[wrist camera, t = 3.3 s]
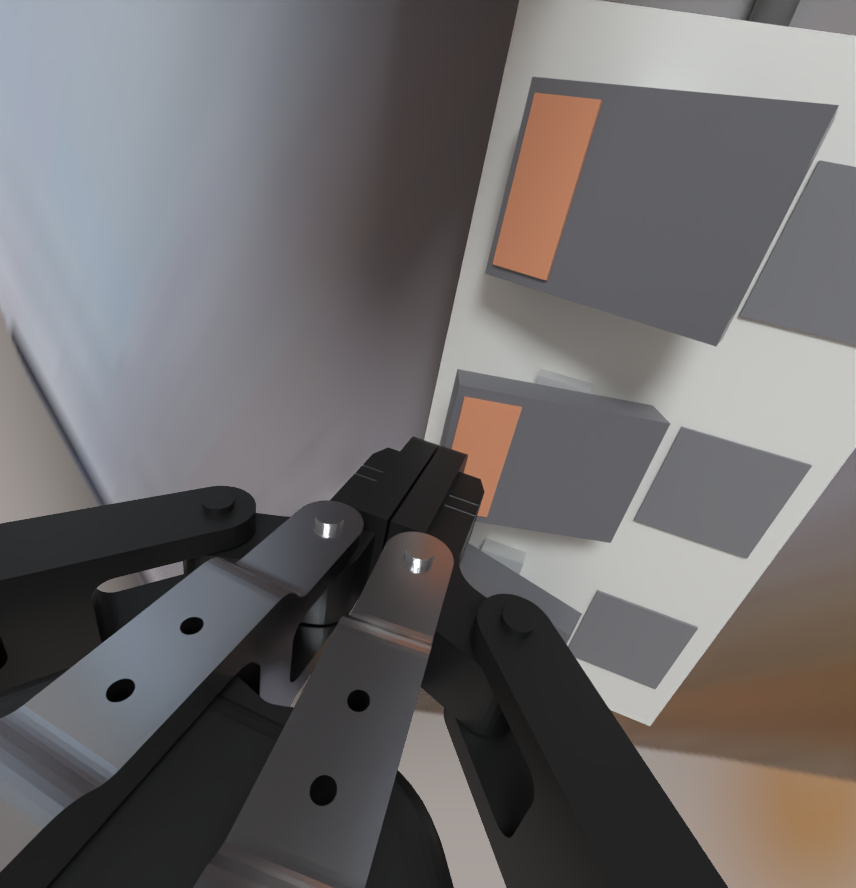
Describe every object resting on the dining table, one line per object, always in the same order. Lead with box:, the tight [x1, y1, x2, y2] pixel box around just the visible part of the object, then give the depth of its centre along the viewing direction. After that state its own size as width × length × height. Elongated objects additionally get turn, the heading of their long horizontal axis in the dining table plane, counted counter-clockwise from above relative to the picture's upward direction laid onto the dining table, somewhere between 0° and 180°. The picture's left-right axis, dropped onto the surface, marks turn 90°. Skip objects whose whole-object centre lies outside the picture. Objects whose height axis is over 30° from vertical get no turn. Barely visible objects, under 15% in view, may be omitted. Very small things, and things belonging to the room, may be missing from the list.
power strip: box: [424, 0, 856, 726], centre depth 15 cm, size 12×28×5 cm, turn 168°
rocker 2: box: [440, 369, 670, 543], centre depth 14 cm, size 6×4×1 cm
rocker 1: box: [485, 77, 839, 346], centre depth 11 cm, size 6×4×1 cm
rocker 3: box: [459, 543, 582, 644], centre depth 18 cm, size 6×4×1 cm
